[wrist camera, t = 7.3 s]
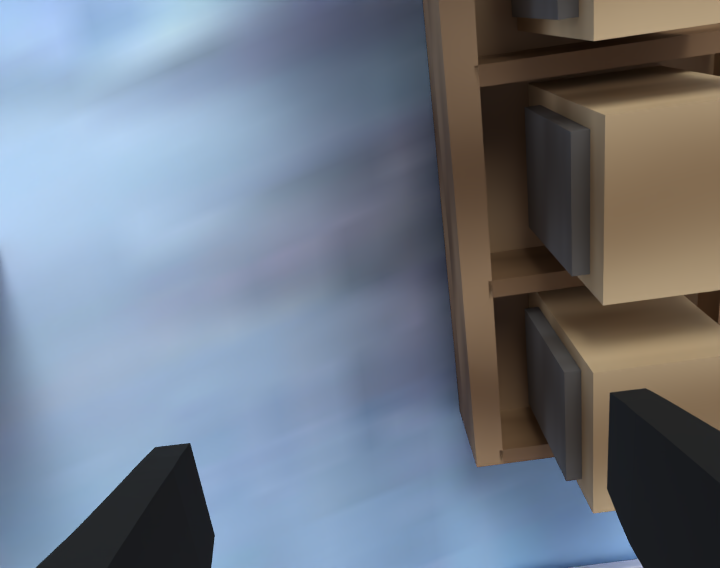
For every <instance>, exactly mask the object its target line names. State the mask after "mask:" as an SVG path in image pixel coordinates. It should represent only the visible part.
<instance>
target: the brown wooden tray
mask: <svg viewBox="0 0 720 568" xmlns="http://www.w3.org/2000/svg"><path fill="white" fill-rule="evenodd" d="M423 10H424V21H425V32H426V43H427V54H428V65H429V76H430V87H431V98H432V109H433V120H434V131H435V142H436V153H437V164H438V175H439V186H440V197H441V208H442V219H443V230H444V241H445V252H446V263H447V274H448V285H449V296H450V307H451V318H452V329H453V340H454V351H455V362H456V373H457V384H458V395H459V406H460V413H461V416H462V420H463V423H464V426H465V429H466V433H467V436H468V439H469V443H470V446H471V449H472V452H473V456H474V459H475V462H476V466H477V467H482V466H489V465H497V464H505V463H512V462H520V461H528V460H535V459H543V458H551V457H555V459H556V461H557V463H558V465H559V467H560V469H561V471H562V473H563V475H564V477H565V479H566V481H571V480H577V482H578V484H579V486H580V488H581V490H582V492H583V494H584V496H585V498H586V500H587V502H588V504H589V506H590V508H591V510H592V512H593V513H601V512H608V511H616V510H615V508H614V505H613V503H612V500H611V498H610V495H609V493H608V490H607V469H608V434H609V400H610V392H618V391H626V390H634V389H643V388H646V389H648V390H650V391H652V392H654V393H656V394H658V395H660V396H661V397H663V398H665V399H667V400H668V401H670V402H672V403H674V404H675V405H677V406H679V407H680V408H682V409H684V410H685V411H687V412H689V413H690V414H692V415H694V416H695V417H697V418H699V419H700V420H702V421H704V422H706V423H707V424H709V425H711V426H712V427H714V428H716V429H717V430H719V431H720V290H716V291H709V292H701V293H694V294H686V295H679V296H671V297H663V298H656V299H648V300H641V301H633V302H626V303H618V304H611V305H602V304H601V303H600V301H599V300H598V299H597V298H596V297H595V296H594V295H593V294H592V292H591V291H590V290H589V289H588V288H587V287H586V286H585V285H584V283H583V282H582V281H581V280H580V279H579V278H578V277H577V276H573V277H572V276H571V275H570V274H569V273H568V272H567V270H566V269H565V268H564V267H563V266H562V265H561V263H560V262H559V261H558V260H557V259H556V258H555V257H554V255H553V254H552V253H551V252H550V251H549V250H548V248H547V247H546V246H545V245H544V244H543V243H542V242H541V240H540V239H539V238H538V237H537V236H536V235H535V233H534V232H533V231H532V230H531V229H530V228H529V220H528V191H527V162H526V133H525V107H528V106H529V90H528V84H531V83H538V82H545V81H552V80H559V79H566V78H574V77H581V76H588V75H595V74H602V73H609V72H617V71H624V70H631V69H638V68H645V67H652V66H660V65H661V66H666V67H671V68H677V69H682V70H688V71H693V72H698V73H704V74H709V75H715V76H720V0H423Z"/></svg>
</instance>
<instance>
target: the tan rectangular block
mask: <svg viewBox="0 0 720 568" xmlns="http://www.w3.org/2000/svg"><path fill="white" fill-rule="evenodd" d="M528 90H529V106H528V107H525V133H526V162H527V191H528V220H529V228H530V229H531V230H532V231H533V232H534V233H535V235H536V236H537V237H538V238H539V239H540V240H541V242H542V243H543V244H544V245H545V246H546V247H547V248H548V250H549V251H550V252H551V253H552V254H553V255H554V257H555V258H556V259H557V260H558V261H559V262H560V263H561V265H562V266H563V267H564V268H565V269H566V270H567V272H568V273H569V274H570V275H571V276H572V277H573V276H577V277H578V278H579V279H580V280H581V281H582V282H583V283H584V285H585V286H586V287H587V288H588V289H589V290H590V291H591V292H592V294H593V295H594V296H595V297H596V298H597V299H598V300H599V301H600V303H601V304H602V305H611V304H618V303H626V302H633V301H641V300H648V299H656V298H663V297H671V296H679V295H686V294H694V293H701V292H709V291H716V290H720V76H715V75H709V74H704V73H698V72H693V71H688V70H682V69H677V68H671V67H666V66H661V65H660V66H652V67H645V68H638V69H631V70H624V71H617V72H609V73H602V74H595V75H588V76H581V77H574V78H566V79H559V80H552V81H545V82H538V83H531V84H528Z"/></svg>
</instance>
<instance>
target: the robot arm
mask: <svg viewBox="0 0 720 568" xmlns="http://www.w3.org/2000/svg"><path fill="white" fill-rule="evenodd" d="M607 490H608V493H609V495H610V498H611V500H612V503H613V505H614V508H615V510H616V513H617V515H618V518H619V520H620V523H621V525H622V527H623V529H624V532H625V534H626V536H627V539H628V541H629V543H630V545H631V547H632V549H633V550H634V552H635V554H636V556H637V558H638V559H633V560H625V561H618V562H610V563H602V564H594V565H586V566H578V567H570V568H720V431H719V430H717V429H716V428H714V427H712V426H711V425H709V424H707V423H706V422H704V421H702V420H700V419H699V418H697V417H695V416H694V415H692V414H690V413H689V412H687V411H685V410H684V409H682V408H680V407H679V406H677V405H675V404H674V403H672V402H670V401H668V400H667V399H665V398H663V397H661V396H660V395H658V394H656V393H654V392H652V391H650V390H648V389H646V388H643V389H634V390H626V391H618V392H610V400H609V434H608V469H607ZM214 537H215V535H214V531H213V527H212V524H211V520H210V516H209V512H208V509H207V505H206V501H205V497H204V494H203V490H202V486H201V482H200V478H199V475H198V471H197V467H196V463H195V460H194V456H193V452H192V448H191V445H190V443H187V444H179V445H170V446H162V447H155V448H154V449H153V450H152V451H151V452H150V453H149V454H148V455H147V456H146V457H145V458H144V459H143V460H142V461H141V462H140V463H139V464H138V465H137V466H136V467H135V468H134V469H133V470H132V471H131V473H130V474H129V475H128V476H127V477H126V478H125V479H124V480H123V481H122V482H121V483H120V484H119V485H118V486H117V487H116V488H115V490H114V491H113V492H112V493H111V494H110V495H109V496H108V497H107V498H106V499H105V500H104V501H103V502H102V503H101V504H100V505H99V506H98V507H97V508H96V509H95V510H94V511H93V512H92V513H91V515H90V516H89V517H88V518H87V519H86V520H85V521H84V522H83V523H82V524H81V525H80V526H79V527H78V528H77V529H76V530H75V531H74V532H73V533H72V534H71V535H70V536H69V537H68V538H67V539H66V540H64V541H63V542H62V543H61V544H60V545H59V546H58V547H57V548H56V549H55V550H54V551H53V552H52V553H51V554H50V555H49V556H48V557H47V558H46V559H45V560H43V561H42V562H41V563H40V564H39V565H38V566H37V567H36V568H211V564H212V555H213V546H214Z"/></svg>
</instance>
